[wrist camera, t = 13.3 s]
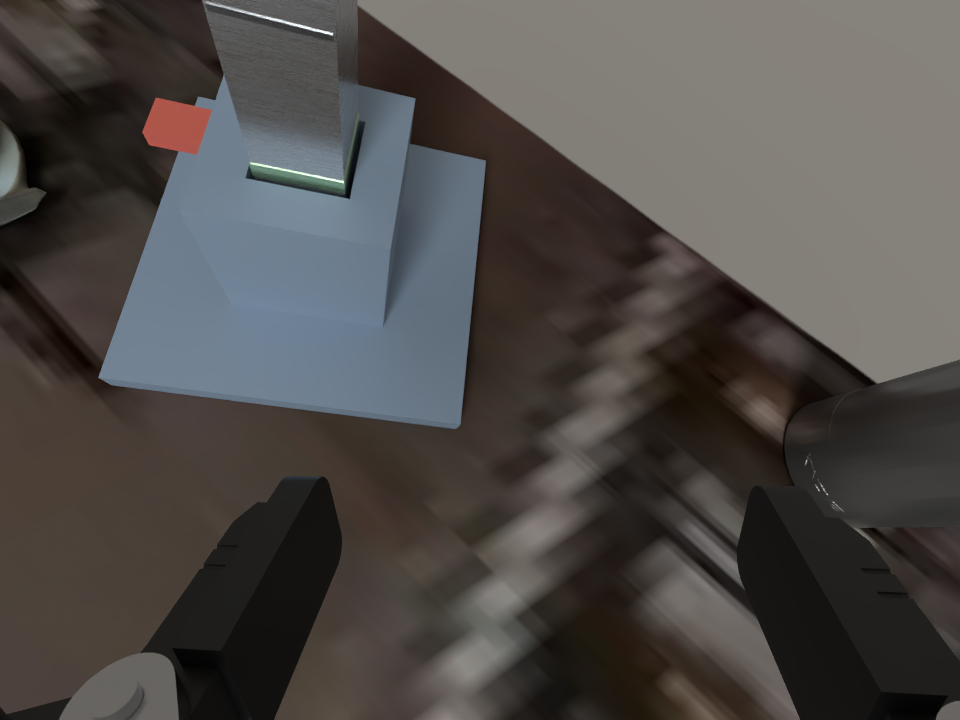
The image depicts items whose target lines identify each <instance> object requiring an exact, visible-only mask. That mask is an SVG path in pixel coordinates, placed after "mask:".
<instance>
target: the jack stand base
mask: <svg viewBox="0 0 960 720" xmlns="http://www.w3.org/2000/svg"><path fill="white" fill-rule="evenodd" d="M414 106H415V98H411V97H407V96H403V95H398V94H394V93H390V92H386V91H382V90H377V89H373V88H369V87H365V86H361V85H358V113H360V126H359V131H358V140H359V156H358V161H357V166H356V171H355V176H354V181H353V186H352V191H351V196H350V199H347V198H342V197H337V196H332V195H327V194H322V193H317V192H312V191H307V190H302V189H297V188H292V187H287V186H282V185H277V184H272V183H267V182H262V181H257V180H255V176H253V175H252V172H251V169H250V165H249V162H250V160H249V156H248V153H247V150H246V146H245V143H244V140H243V136H242V133H241V129H240V126H239V123H238V119H237V116H236V113H235V109H234V106H233V103H232V99H231V96H230V93H229V89H228V86H227V83H226V79H225V76H224V77H223V80H222V82H221V85H220V88H219V91H218V94H217V97H216V100H211V99H206V98H202V97H198V99H197V102H196V104H195V106H191V105H187V104H182V103H178V102H173V101H169V100H164V99H160V98H156V99H155V101H154V104H153V106H152V109H151V112H150V114H149V117H148V119H147V122H146V124H145V127H144V129H143V134H144V136H145V138H146V140H147V142H148V144H149V145H151V146H156V147H161V148H166V149H171V150H176V151H179V152H178V155H177V158H176V161H175V164H174V166H173V169H172V172H171V175H170V178H169V180H168V183H167V186H166V189H165V192H164V195H163V197H162V200H161V203H160V206H159V209H158V211H157V214H156V217H155V220H154V223H153V226H152V228H151V231H150V234H149V237H148V240H147V242H146V245H145V248H144V251H143V254H142V257H141V259H140V262H139V265H138V268H137V271H136V273H135V276H134V279H133V282H132V285H131V288H130V290H129V293H128V296H127V299H126V302H125V304H124V307H123V310H122V313H121V316H120V318H119V321H118V324H117V327H116V330H115V333H114V335H113V338H112V341H111V344H110V347H109V349H108V352H107V355H106V358H105V361H104V364H103V366H102V369H101V372H100V375H99V378H100V379H102V380H103V381H105V382H107V383H108V384H110V385H114V386H122V387H130V388H138V389H146V390H153V391H161V392H169V393H177V394H185V395H193V396H200V397H208V398H216V399H224V400H232V401H240V402H248V403H255V404H263V405H271V406H279V407H287V408H295V409H302V410H310V411H318V412H326V413H334V414H342V415H349V416H357V417H365V418H373V419H381V420H389V421H396V422H404V423H412V424H420V425H428V426H436V427H444V428H451V429H457V428H458V427H459V425H460V424H461V413H462V403H463V393H464V382H465V372H466V362H467V352H468V341H469V331H470V321H471V310H472V300H473V290H474V279H475V269H476V259H477V249H478V238H479V228H480V218H481V207H482V197H483V187H484V177H485V166H486V161H485V160H480V159H476V158H471V157H467V156H462V155H458V154H453V153H449V152H444V151H440V150H435V149H431V148H426V147H422V146H417V145H413V144H410V139H411V131H412V122H413V114H414Z"/></svg>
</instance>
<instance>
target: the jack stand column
mask: <svg viewBox="0 0 960 720" xmlns="http://www.w3.org/2000/svg"><path fill="white" fill-rule="evenodd" d="M202 2H203V5H204V9H205V12H206V16H207V19H208V22H209V26H210V29H211V32H212V36H213V39H214V42H215V46H216V49H217V52H218V56H219V59H220V62H221V66H222V69H223V73H224V76H225V79H226V83H227V86H228V89H229V93H230V96H231V99H232V103H233V106H234V109H235V113H236V116H237V119H238V123H239V126H240V129H241V133H242V136H243V140H244V143H245V146H246V150H247V153H248V156H249V160H250V162H249V165H250V169H251V172H252V175H253V176H255V180H257V181H262V182H267V183H272V184H277V185H282V186H287V187H292V188H297V189H302V190H307V191H312V192H317V193H322V194H327V195H332V196H337V197H342V198H347V199H350V196H351V191H352V186H353V181H354V176H355V171H356V166H357V161H358V156H359V140H358V131H359V126H360V113H358V24H357V0H202Z"/></svg>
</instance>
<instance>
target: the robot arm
mask: <svg viewBox="0 0 960 720" xmlns="http://www.w3.org/2000/svg"><path fill="white" fill-rule="evenodd" d="M784 450H785V458H786V464H787V467H788V470H789V474H790V476H791V478H792V480H793V483H794V485H795V486H755V487H753V489H752V490H751V492H750V496H749V500H748V504H747V508H746V513H745V517H744V521H743V525H742V529H741V534H740V538H739V542H738V547H737V563H738V570H739V574H740V578H741V581H742V584H743V586H744V588H745V591H746V593H747V595H748V598H749V600H750V602H751V605H752V607H753V609H754V612H755V614H756V616H757V619H758V621H759V624H760V626H761V628H762V631H763V633H764V635H765V638H766V640H767V642H768V645H769V647H770V649H771V652H772V654H773V656H774V659H775V661H776V663H777V666H778V668H779V671H780V673H781V675H782V678H783V680H784V682H785V685H786V687H787V689H788V692H789V694H790V696H791V699H792V701H793V703H794V706H795V708H796V710H797V713H798V715H799V717H800V720H960V661H959V660H958V659H957V657H956V656H955V655H954V653H953V652H952V651H951V649H950V648H949V647H948V645H947V644H946V643H945V641H944V640H943V639H942V637H941V636H940V635H939V633H938V632H937V631H936V629H935V628H934V627H933V625H932V624H931V623H930V621H929V620H928V619H927V617H926V616H925V615H924V613H923V612H922V611H921V609H920V608H919V607H918V605H917V604H916V603H915V601H914V600H913V599H909V597H908V592H907V591H906V589H905V588H904V587H903V585H902V584H901V583H900V581H899V580H898V579H897V577H896V576H895V575H891V573H890V568H889V567H888V565H887V564H886V563H885V561H884V560H883V559H882V557H881V556H880V555H879V553H878V552H877V551H876V549H875V548H874V547H873V545H872V544H871V543H870V541H868V540H867V539H866V538H865V537H863V536H862V535H861V534H859V533H858V532H857V531H856V530H854V529H853V528H868V527H956V526H960V360H957V361H954V362H951V363H947V364H943V365H940V366H937V367H933V368H930V369H926V370H923V371H920V372H916V373H913V374H910V375H907V376H903V377H899V378H896V379H893V380H889V381H887V382H883V383H879V384H876V385H872V386H869V387H866V388H862V389H858V390H854V391H851V392H848V393H844V394H841V395H838V396H834V397H831V398H827V399H824V400H821V401H817V402H814V403H811V404H808V405H806V406H805V407H803V408H801V409H800V410H799V411H798V412H797V413H796V414H795V415H794V416H793V418H792V419H791V421H790V423H789V424H788V428H787V431H786V435H785V446H784ZM341 549H342V535H341V530H340V526H339V522H338V518H337V514H336V509H335V505H334V501H333V497H332V493H331V489H330V485H329V482H328V480H327V479H326V478H325V477H303V476H287V477H285V478H283V479H282V480H281V482H280V483H279V485H278V486H277V488H276V489H275V491H274V492H273V494H272V495H271V497H270V498H269V500H268V501H267V503H262V502H257V503H256V504H255V505H253V506H252V507H251V508H250V509H248V510H247V511H246V512H245V513H243V514H242V515H241V516H240V517H239V518H237V519H236V520H235V521H234V522H233V523H232V524H231V526H230V527H229V529H228V530H227V531H226V533H225V534H224V536H223V537H222V539H221V540H220V541H219V543H218V544H217V549H214V550H213V551H212V553H211V554H210V556H209V557H208V559H207V560H206V561H205V563H204V567H203V569H200V570H199V571H198V573H197V574H196V576H195V577H194V578H193V580H192V581H191V583H190V584H189V586H188V587H187V588H186V590H185V591H184V593H183V594H182V596H181V597H180V598H179V600H178V601H177V603H176V604H175V605H174V607H173V608H172V610H171V611H170V613H169V614H168V615H167V617H166V618H165V620H164V621H163V623H162V624H161V625H160V627H159V628H158V630H157V631H156V633H155V634H154V635H153V637H152V638H151V640H150V641H149V643H148V644H147V645H146V647H145V648H144V649H143V650H142V652H141V653H140V654H135V655H131V656H128V657H126V658H123V659H121V660H118V661H116V662H115V663H113V664H111V665H109V666H107V667H106V668H104V669H103V670H101V671H100V672H98V673H97V674H96V675H95V676H93V677H92V678H91V679H89V680H88V681H87V682H86V683H85V684H84V685H83V686H82V687H81V688H80V689H79V690H78V691H77V693H76V694H75V695H74V696H73V697H71V698H67V699H64V700H60V701H56V702H52V703H48V704H45V705H41V706H37V707H33V708H29V709H26V710H22V711H18V712H14V713H10V714H7V715H6V713H5V712H4V711H3V710H2V709H1V707H0V720H274V718H275V716H276V713H277V711H278V708H279V706H280V704H281V701H282V699H283V696H284V694H285V692H286V689H287V687H288V684H289V682H290V680H291V677H292V675H293V672H294V670H295V668H296V665H297V663H298V660H299V658H300V655H301V653H302V651H303V648H304V646H305V643H306V641H307V639H308V636H309V634H310V631H311V629H312V627H313V624H314V622H315V619H316V617H317V615H318V612H319V610H320V607H321V605H322V603H323V600H324V598H325V595H326V593H327V591H328V588H329V586H330V583H331V581H332V579H333V576H334V574H335V571H336V569H337V566H338V564H339V560H340V556H341Z"/></svg>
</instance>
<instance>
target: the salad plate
mask: <svg viewBox="0 0 960 720" xmlns="http://www.w3.org/2000/svg"><path fill="white" fill-rule="evenodd" d="M45 194H46V192H44V191H42V190H39V189H38V188H30V189H29V188H28V185H27V168H26V162H25V155H24V150H23V149H22V146H21V143H20V141H19V139H18V138H17V136H16V135H15V133H14V132H13V131H12V130H11V129H10V128H9V127H8V126H7V125H6V124H5V123H4V122H3V121H2V120H0V226H3V225H5V224H7V223H10V222H12V221H14V220H15V219H17V218H20V217H22V216H24V215H26V214H28V213H30V212H32V211H34V210H35V209H36V208H37V207H38V205H39V203H40V201H41V200H42V199H43V198H44V196H45Z"/></svg>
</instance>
